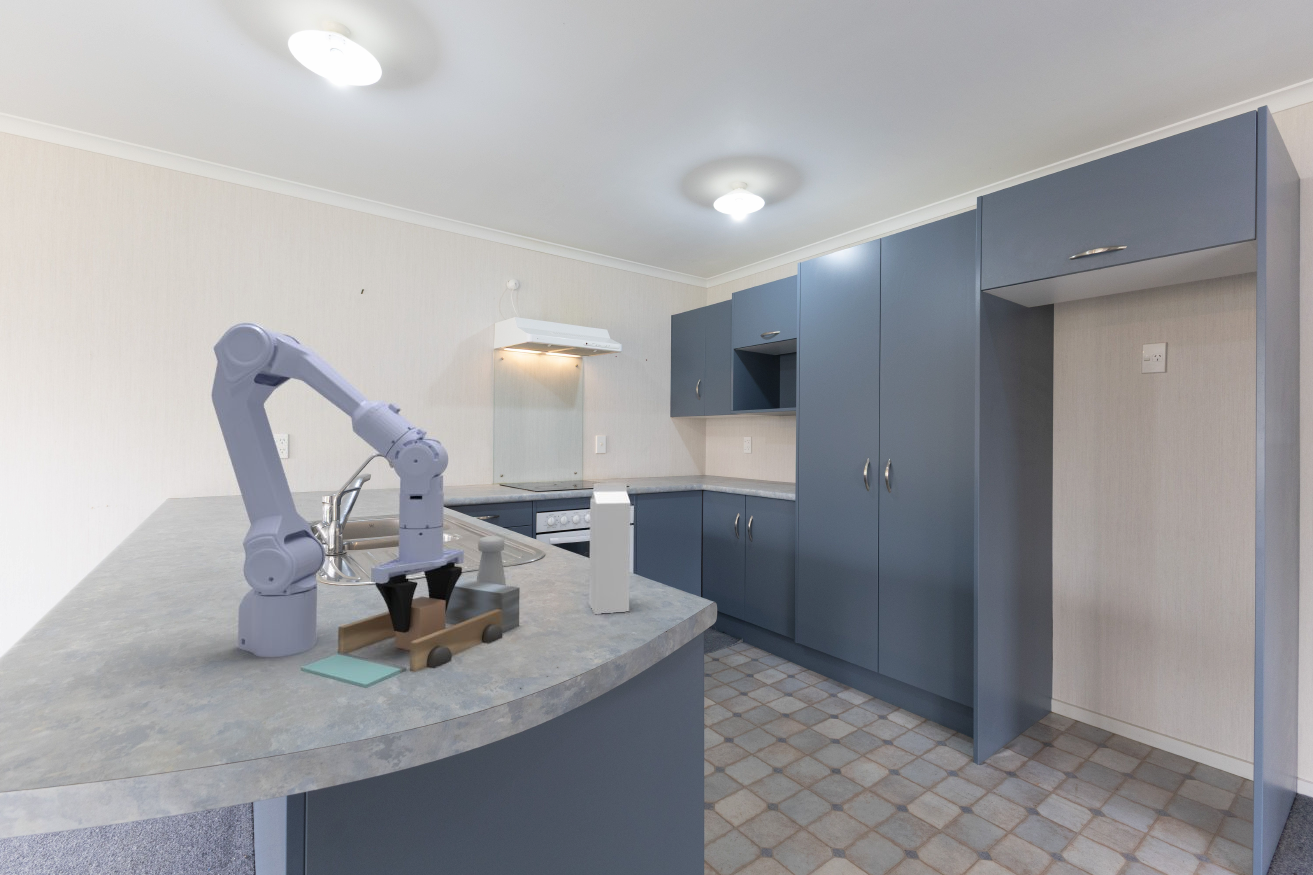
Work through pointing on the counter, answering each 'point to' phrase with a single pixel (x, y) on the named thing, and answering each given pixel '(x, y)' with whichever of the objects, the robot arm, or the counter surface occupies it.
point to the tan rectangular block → (422, 620)
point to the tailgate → (353, 669)
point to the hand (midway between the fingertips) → (420, 624)
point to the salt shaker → (491, 560)
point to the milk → (609, 548)
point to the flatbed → (470, 609)
